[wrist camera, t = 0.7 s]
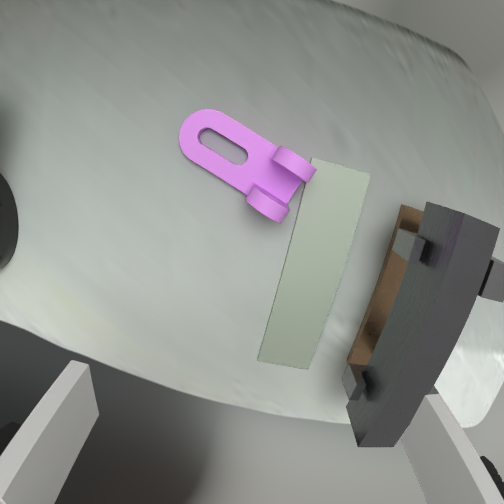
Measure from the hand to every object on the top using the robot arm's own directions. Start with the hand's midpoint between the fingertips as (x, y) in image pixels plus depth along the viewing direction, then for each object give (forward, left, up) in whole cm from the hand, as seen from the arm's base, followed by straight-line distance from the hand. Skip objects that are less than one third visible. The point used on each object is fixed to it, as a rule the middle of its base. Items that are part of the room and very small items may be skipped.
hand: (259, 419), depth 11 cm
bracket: (-4, +9, -25) cm, 27 cm away
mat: (+6, -2, -24) cm, 25 cm away
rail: (+14, -2, -16) cm, 22 cm away
